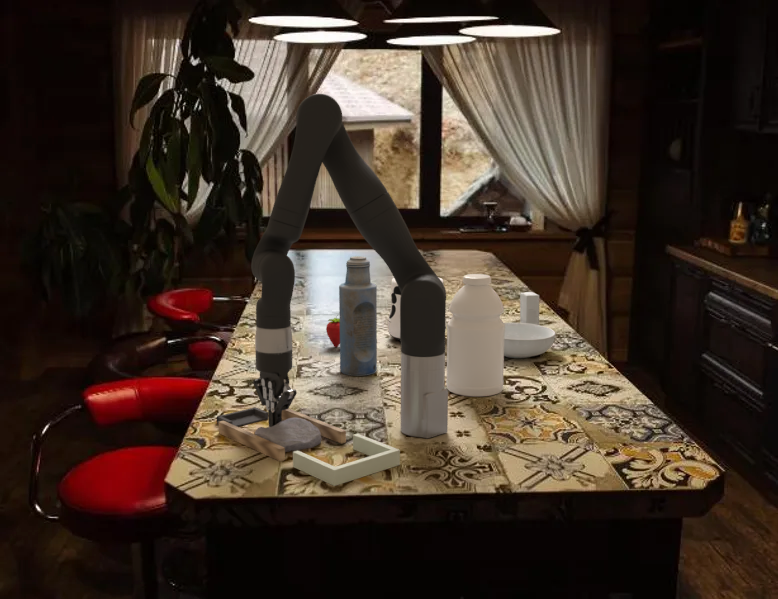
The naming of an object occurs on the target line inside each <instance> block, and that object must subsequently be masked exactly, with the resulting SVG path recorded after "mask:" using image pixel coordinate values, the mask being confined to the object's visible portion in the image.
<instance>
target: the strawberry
mask: <svg viewBox="0 0 778 599" xmlns="http://www.w3.org/2000/svg"><path fill="white" fill-rule="evenodd" d="M338 316H339V314H337V315H336V316H335V317H334V318H330V319H328V320H327V321H328V323H327V325H326V328H325V330H326V335H327V337H328V339H329V341H330V342H331V344H332V345H333V347H334V348H338V347H340V318H337V317H338Z"/></svg>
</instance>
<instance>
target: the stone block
mask: <svg viewBox="0 0 778 599" xmlns="http://www.w3.org/2000/svg"><path fill="white" fill-rule="evenodd" d="M254 434H255V435H257V436H259V437H262V438H264V439H266V440H268V441H271V442H273V443H275V444H277V445H280V446H282V447H284V448H285V453H287V452H294V451H302V450H305V449H311V448H314V447H317V446H318V445H320V444H321V442H322V436H321V434H320V431H319V429H318V428H317V427H316V426H314V425H313V424H312V423H311V422H309V421H306V420H305V419H301V418H296V417H295V418H289V419H286V420H282V421H281V422H279V423H277V424H276V425H274V426H272V427H269V426H268V427H267V426H266V427H262V426H260V427H258V428H257V429H256V430H255V431H254Z"/></svg>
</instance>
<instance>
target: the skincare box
mask: <svg viewBox="0 0 778 599" xmlns="http://www.w3.org/2000/svg"><path fill="white" fill-rule="evenodd" d="M519 304H520V305H519V307H520V308H519V323H528V324H535V325H540V294H537V293H535V292H534V291H526V292H525V291H523V292H519Z"/></svg>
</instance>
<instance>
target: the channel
mask: <svg viewBox="0 0 778 599" xmlns="http://www.w3.org/2000/svg"><path fill="white" fill-rule="evenodd" d="M295 417H296V418H301V419H305V420H306V421H309V422H311V423H312V424H313V425H314V426H316V427H317V428H318V429H319V431H320V434H321V437H323V438H327V439H329V440H331V441H333V442H335V443H338V444H341V445H343V444H346V442H347V440H346V439H347V432H346V430H345V429H342V428H340V427H337V426H334V425H332V424H330V423H327V422H324V421H321V420H319V419H316V418H314V417H311V416H309V415H306V414H304V413H302V412H300V411H299V412H298V411H296V410H294V409H290V407H289V408H288V409H286V410H282V421H284V420H286V419H289V418H295ZM218 434H220V435H222V436H223V437H226V438H229V439H231V440H233V441H235V442H237V443H240V444H241V445H243V446H245V447H248V448H250V449H252V450H254V451H257V452H259V453H260V454H263V455H265V456H267V457H270V458H271V459H274V460H276V461H278V462H283V461H285V460H286V452H285V448H284V447H282V446H280V445H277V444H275V443H273V442H271V441H268V440H266V439H264V438H262V437H259V436H257V435H255V433H252V432H250V431H248V430H246V429H243V428H241V427H240V426H238V427H237V426H235V425H232V424H230V423H228V422H226V421H220V422H219V424H218Z"/></svg>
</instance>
